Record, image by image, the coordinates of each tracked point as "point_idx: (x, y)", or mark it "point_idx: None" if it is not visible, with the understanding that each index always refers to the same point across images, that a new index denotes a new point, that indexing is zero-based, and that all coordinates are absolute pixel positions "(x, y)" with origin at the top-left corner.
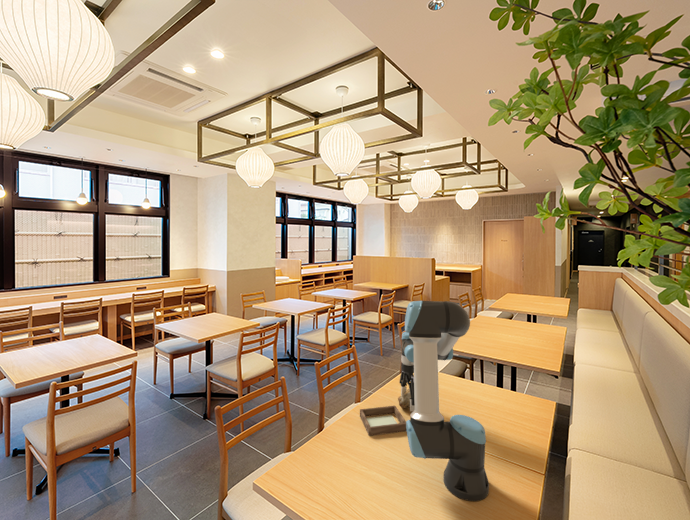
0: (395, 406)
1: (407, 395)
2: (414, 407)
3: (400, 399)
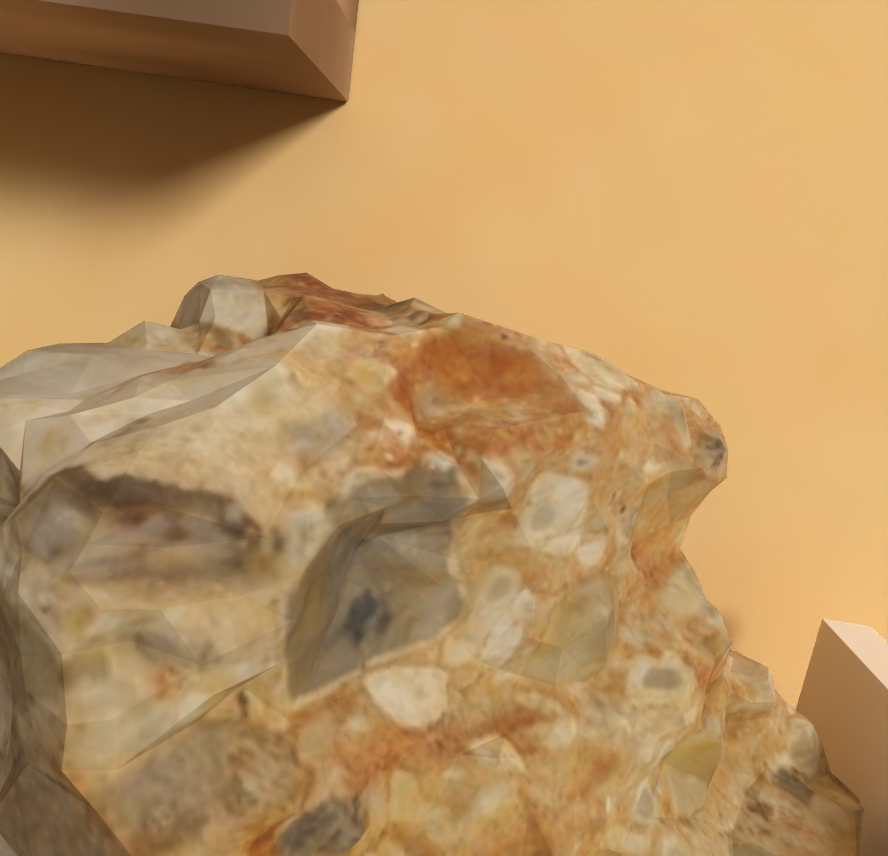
0: (208, 7)
1: (11, 823)
2: None
3: (270, 341)
